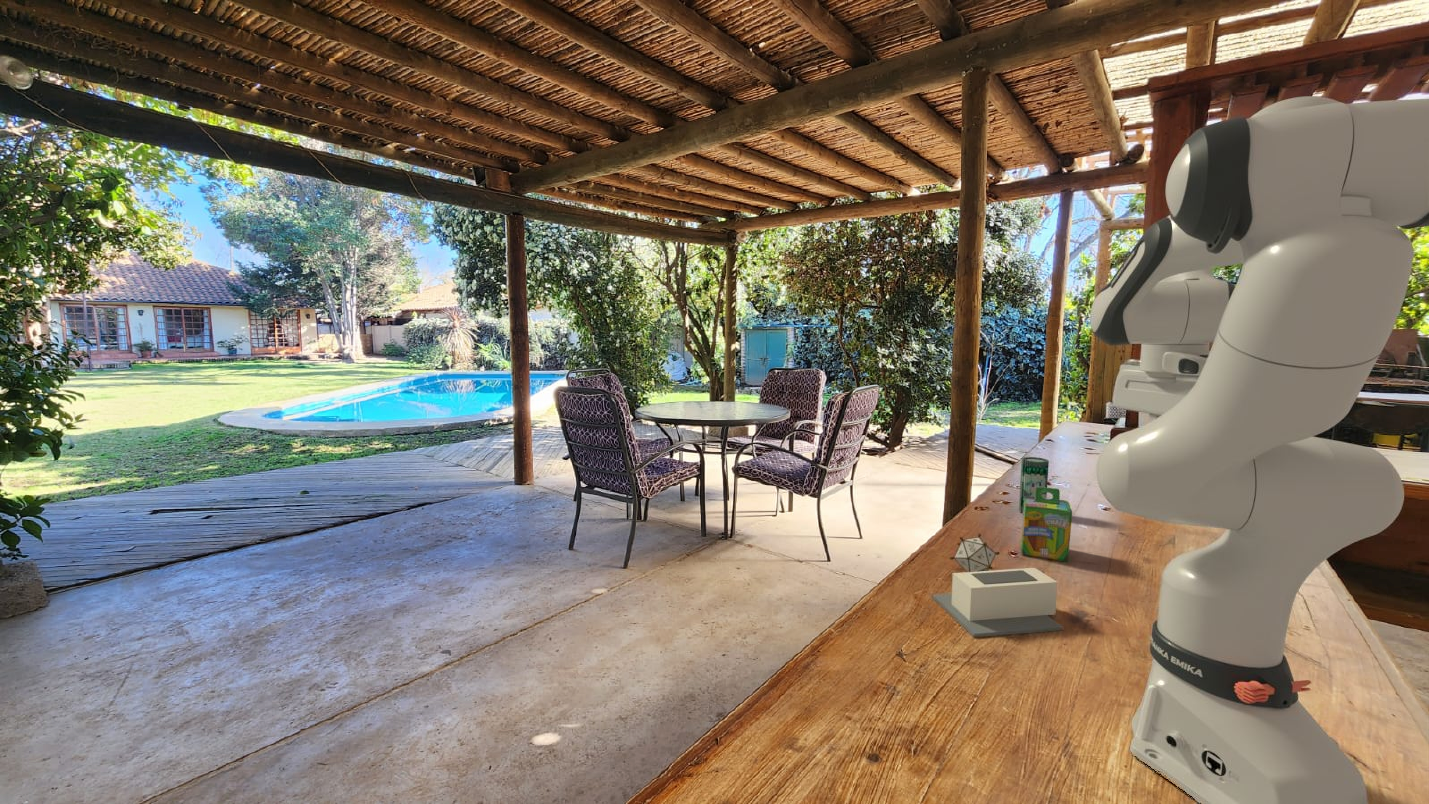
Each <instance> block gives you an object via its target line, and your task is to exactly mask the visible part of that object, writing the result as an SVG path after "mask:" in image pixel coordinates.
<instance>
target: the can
mask: <svg viewBox="0 0 1429 804" xmlns="http://www.w3.org/2000/svg"><path fill="white" fill-rule="evenodd" d="M1020 464H1021V465H1020V466H1021V467H1020V482H1019V483H1020V484H1019V486H1020V487H1019V501H1018V502H1019V503H1018V512H1019V511H1020V512H1019V513H1020V514H1022V513H1023V510H1024V496H1032V497H1035V492H1036V488H1037V487H1045V488H1048V478H1049V465H1050V464H1049V460H1048V459H1046V458H1042V457H1037V456H1025V457H1022V458H1021V463H1020ZM1047 495H1048V492H1045V493H1043V494H1042V497H1043V498H1048V497H1047Z"/></svg>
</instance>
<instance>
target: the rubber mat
mask: <svg viewBox="0 0 1429 804" xmlns="http://www.w3.org/2000/svg"><path fill="white" fill-rule="evenodd" d="M931 598H932V599H933V600H934V601H935V603H938V604H939V606H940V607H942V609H943V610H945V612H947V613H948V614H949V615H950V616H951V617H952V618H953V619H954V620H955V621H956V622H957V623H958V624H959V625H960V626H961V627H962V628H964V630H965V631H966V632H968V634H969V635H971V636H972V638H979V637H980V638H982V637H983V638H984V637H994V636H995V637H996V636H1007V635H1020V634H1021V635H1022V634H1032V633H1033V634H1034V633H1043V632H1044V633H1045V632H1057V631H1064V626H1062V625H1061V624H1060V623H1058V621H1056V620H1055V619H1053V618H1052V617H1051V616H1050V615H1040V616H1027V617H1014V618H1001V619H988V620H975V621H969V620H968V619H967V618H966V617H965V616H964V615H963V614H962V613H961V612H959V611H958V610H957V609H956V608H955V607H954V606H953V605H952V592H950V593H948V592H947V593H936V594H932V596H931Z"/></svg>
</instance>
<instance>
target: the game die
mask: <svg viewBox="0 0 1429 804" xmlns="http://www.w3.org/2000/svg"><path fill="white" fill-rule="evenodd" d="M959 539H960V542H957V546H958V547H957V548H956V551H955V554H954V556H950V557H948V558H949V560H955V562H957V564H958V565H959V566H961V568H963V570H964V571H965V572H978V571H989V570H994V568H993V566H992V563H993V562H994V559H995V557H996V555H1000V554H1001V553H1000V552H999V551H996V552H995V551H994V550H993V549H992V548H991V547H990V546H989V545H988V543H987V542H986V541H984V540H983V539H982V538H981V533H978V534H977V536H976V537H971V538H963V537H962V536H959Z"/></svg>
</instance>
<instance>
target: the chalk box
mask: <svg viewBox="0 0 1429 804" xmlns="http://www.w3.org/2000/svg"><path fill="white" fill-rule="evenodd" d="M1045 492H1047V494H1051V495H1052V498H1048V497H1047V498H1043V497H1042V494H1043V493H1045ZM1060 492H1061V491H1060V489H1059V488H1052V487H1047V488H1045V487H1037V488H1036V492H1035V497H1032V496H1024V510H1023V514H1022V526H1021V528H1022V529H1021V539H1020V553H1021V555H1023V556H1030V557H1035V558H1042V559H1047V560H1053V561H1060V562H1065V563H1066V562H1067V563H1068V562H1069V552H1070V540H1071V532H1072V531H1071V530H1072V520H1073V511H1072V508H1071V505H1070V503H1069V501H1067V500H1064V499H1063V500H1062V499H1060V494H1061V493H1060Z"/></svg>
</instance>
